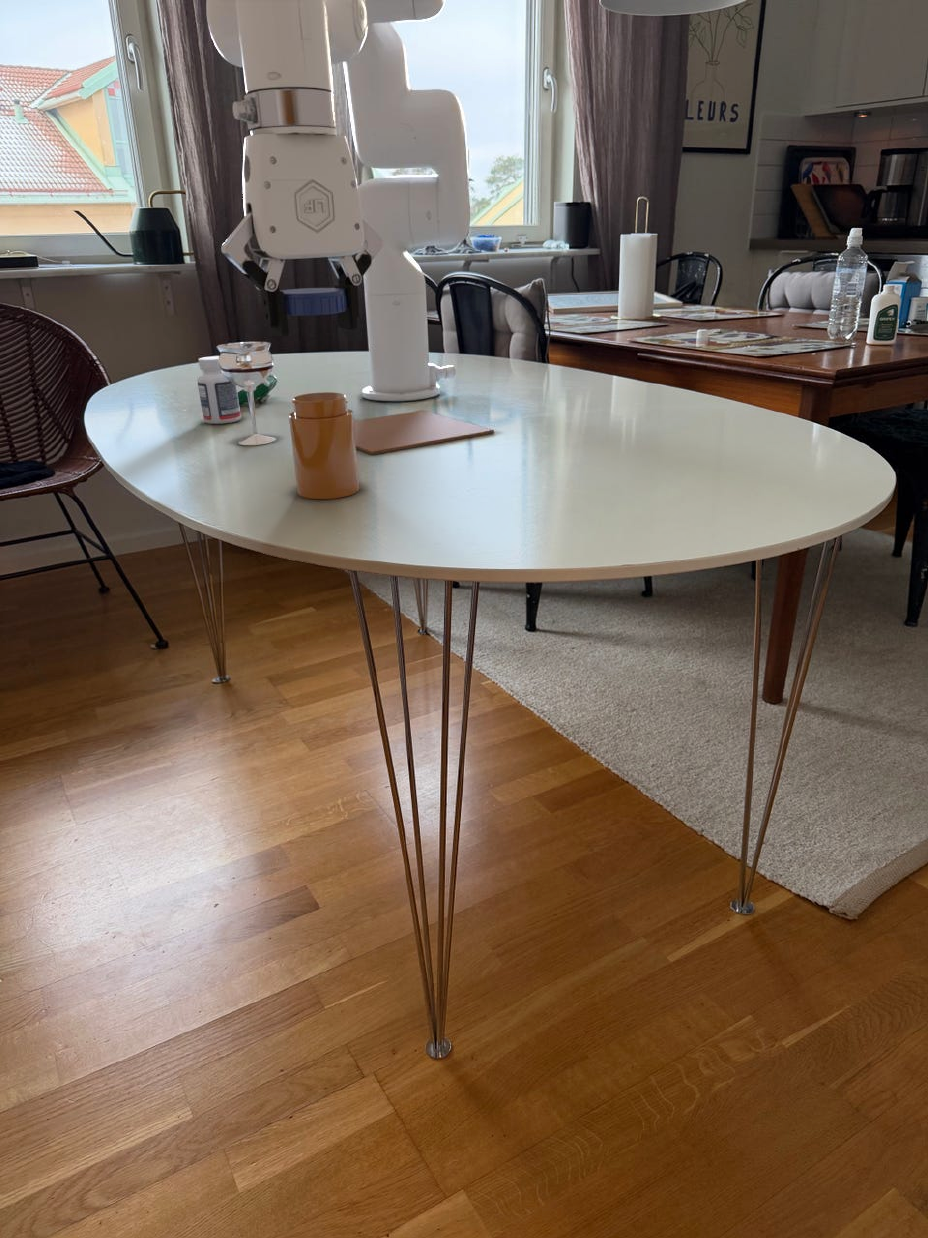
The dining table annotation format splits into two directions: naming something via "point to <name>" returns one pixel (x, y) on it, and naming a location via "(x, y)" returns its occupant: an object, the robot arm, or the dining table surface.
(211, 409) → the pill bottle
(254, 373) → the wineglass
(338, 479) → the jar
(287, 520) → the dining table surface
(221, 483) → the dining table surface
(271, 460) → the dining table surface
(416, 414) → the mat
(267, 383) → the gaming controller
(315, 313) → the lid
